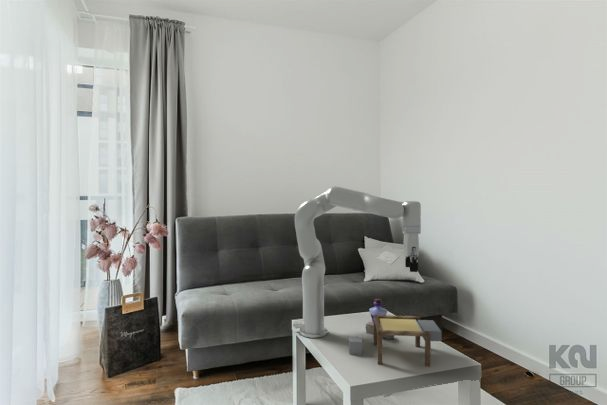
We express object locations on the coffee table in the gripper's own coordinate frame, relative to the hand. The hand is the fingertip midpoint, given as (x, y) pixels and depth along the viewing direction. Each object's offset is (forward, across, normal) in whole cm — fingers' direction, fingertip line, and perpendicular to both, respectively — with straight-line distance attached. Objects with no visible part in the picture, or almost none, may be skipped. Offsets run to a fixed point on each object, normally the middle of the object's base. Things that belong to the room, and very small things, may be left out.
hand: (411, 269), depth 156 cm
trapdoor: (+22, +17, -4) cm, 28 cm away
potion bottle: (+30, -16, -12) cm, 36 cm away
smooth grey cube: (+30, +16, -25) cm, 42 cm away
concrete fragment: (+30, -2, -14) cm, 33 cm away
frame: (+30, +17, -8) cm, 35 cm away
